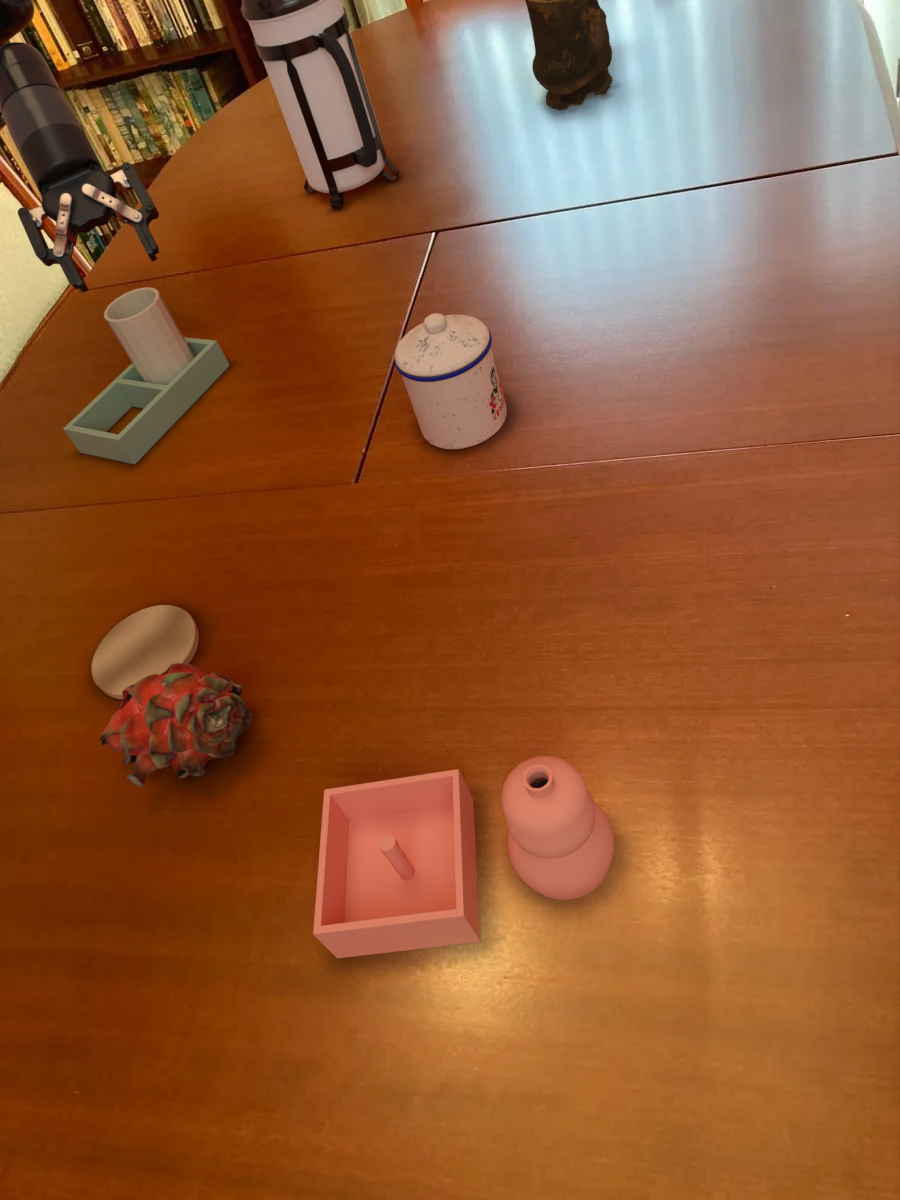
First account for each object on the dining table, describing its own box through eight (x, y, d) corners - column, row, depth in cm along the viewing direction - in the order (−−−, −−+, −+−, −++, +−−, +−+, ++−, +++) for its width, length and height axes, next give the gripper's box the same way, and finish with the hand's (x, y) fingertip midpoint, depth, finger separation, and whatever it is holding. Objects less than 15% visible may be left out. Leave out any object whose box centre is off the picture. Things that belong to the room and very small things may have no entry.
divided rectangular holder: (80, 452, 100) (62, 428, 98) (175, 358, 109) (161, 334, 106) (135, 464, 96) (118, 440, 93) (230, 365, 104) (216, 340, 102)
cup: (143, 399, 104) (92, 319, 96) (176, 366, 107) (130, 285, 99) (181, 406, 101) (132, 323, 93) (214, 371, 104) (169, 288, 96)
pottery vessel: (547, 66, 139) (524, -85, 125) (616, 51, 136) (601, -106, 122) (534, 137, 124) (506, -27, 109) (612, 121, 121) (593, -49, 106)
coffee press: (285, 219, 127) (188, -20, 105) (328, 165, 136) (247, -67, 114) (392, 210, 120) (314, -48, 98) (430, 153, 129) (366, -95, 107)
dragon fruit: (286, 754, 68) (156, 785, 71) (262, 646, 69) (136, 682, 72) (225, 770, 59) (82, 804, 63) (199, 647, 60) (60, 688, 64)
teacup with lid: (520, 433, 83) (494, 327, 74) (428, 464, 83) (392, 362, 75) (491, 366, 91) (465, 263, 82) (408, 395, 91) (373, 295, 83)
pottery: (337, 958, 55) (275, 897, 47) (345, 818, 61) (291, 745, 54) (628, 924, 52) (609, 852, 44) (605, 780, 58) (586, 697, 51)
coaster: (74, 682, 76) (69, 677, 76) (144, 600, 81) (140, 594, 80) (150, 713, 72) (146, 708, 71) (220, 624, 76) (216, 618, 76)
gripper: (-22, 151, 95) (49, 288, 96) (100, 98, 96) (169, 234, 97) (6, 184, 102) (71, 311, 103) (119, 135, 104) (183, 260, 104)
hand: (119, 273), depth 100 cm, fingers open, 8 cm apart
